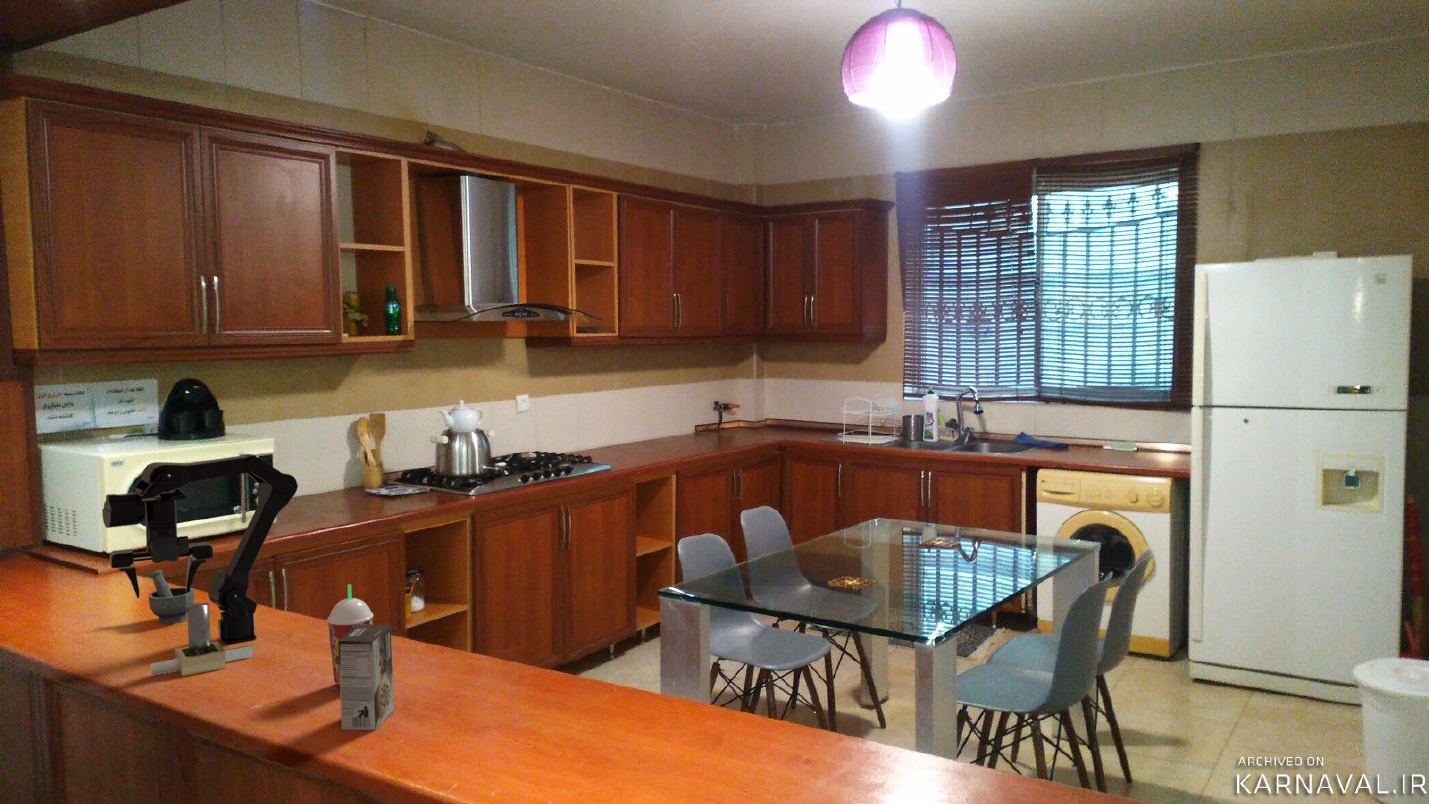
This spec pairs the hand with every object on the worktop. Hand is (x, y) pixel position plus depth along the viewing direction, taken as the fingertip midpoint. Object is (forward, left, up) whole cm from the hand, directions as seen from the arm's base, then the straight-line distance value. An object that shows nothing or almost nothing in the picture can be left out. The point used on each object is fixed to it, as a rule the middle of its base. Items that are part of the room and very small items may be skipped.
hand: (163, 594), depth 208 cm
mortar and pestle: (-5, -28, -14) cm, 31 cm away
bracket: (-5, +12, -13) cm, 19 cm away
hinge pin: (-5, +12, -13) cm, 19 cm away
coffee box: (-24, +61, -14) cm, 67 cm away
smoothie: (-27, +42, -14) cm, 52 cm away
